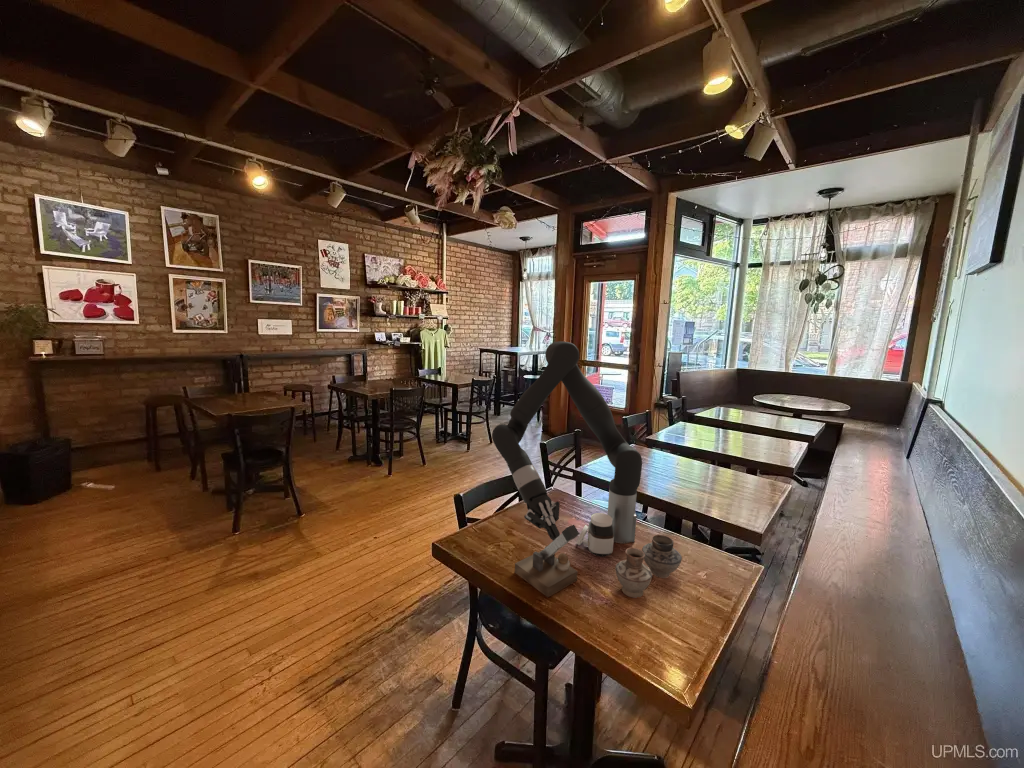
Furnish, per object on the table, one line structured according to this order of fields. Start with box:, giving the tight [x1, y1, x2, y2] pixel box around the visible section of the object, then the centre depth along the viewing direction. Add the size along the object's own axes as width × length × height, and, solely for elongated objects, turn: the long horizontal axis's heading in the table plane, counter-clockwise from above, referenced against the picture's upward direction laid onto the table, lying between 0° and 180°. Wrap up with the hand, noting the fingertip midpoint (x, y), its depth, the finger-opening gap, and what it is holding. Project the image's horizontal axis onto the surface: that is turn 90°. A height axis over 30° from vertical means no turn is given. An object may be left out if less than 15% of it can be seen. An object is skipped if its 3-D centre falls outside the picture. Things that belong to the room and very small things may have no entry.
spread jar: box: [576, 512, 615, 558], centre depth 135 cm, size 12×11×12 cm
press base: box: [514, 545, 578, 598], centre depth 120 cm, size 14×12×8 cm
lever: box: [539, 524, 580, 560], centre depth 115 cm, size 3×3×17 cm
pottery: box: [614, 534, 683, 599], centre depth 119 cm, size 11×25×12 cm, turn 130°
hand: (556, 538), depth 115 cm, fingers closed
